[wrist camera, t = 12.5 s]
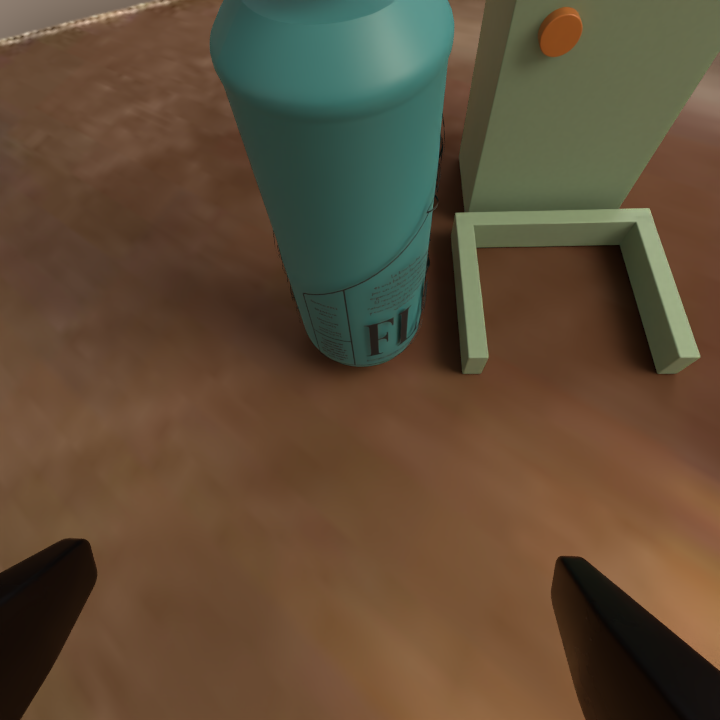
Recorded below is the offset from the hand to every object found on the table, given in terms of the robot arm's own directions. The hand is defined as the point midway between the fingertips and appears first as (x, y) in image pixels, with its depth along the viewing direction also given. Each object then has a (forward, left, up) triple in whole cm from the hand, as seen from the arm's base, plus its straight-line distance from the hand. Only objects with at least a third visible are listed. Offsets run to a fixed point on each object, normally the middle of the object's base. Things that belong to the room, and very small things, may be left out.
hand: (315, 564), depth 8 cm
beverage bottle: (+11, -4, -13) cm, 18 cm away
